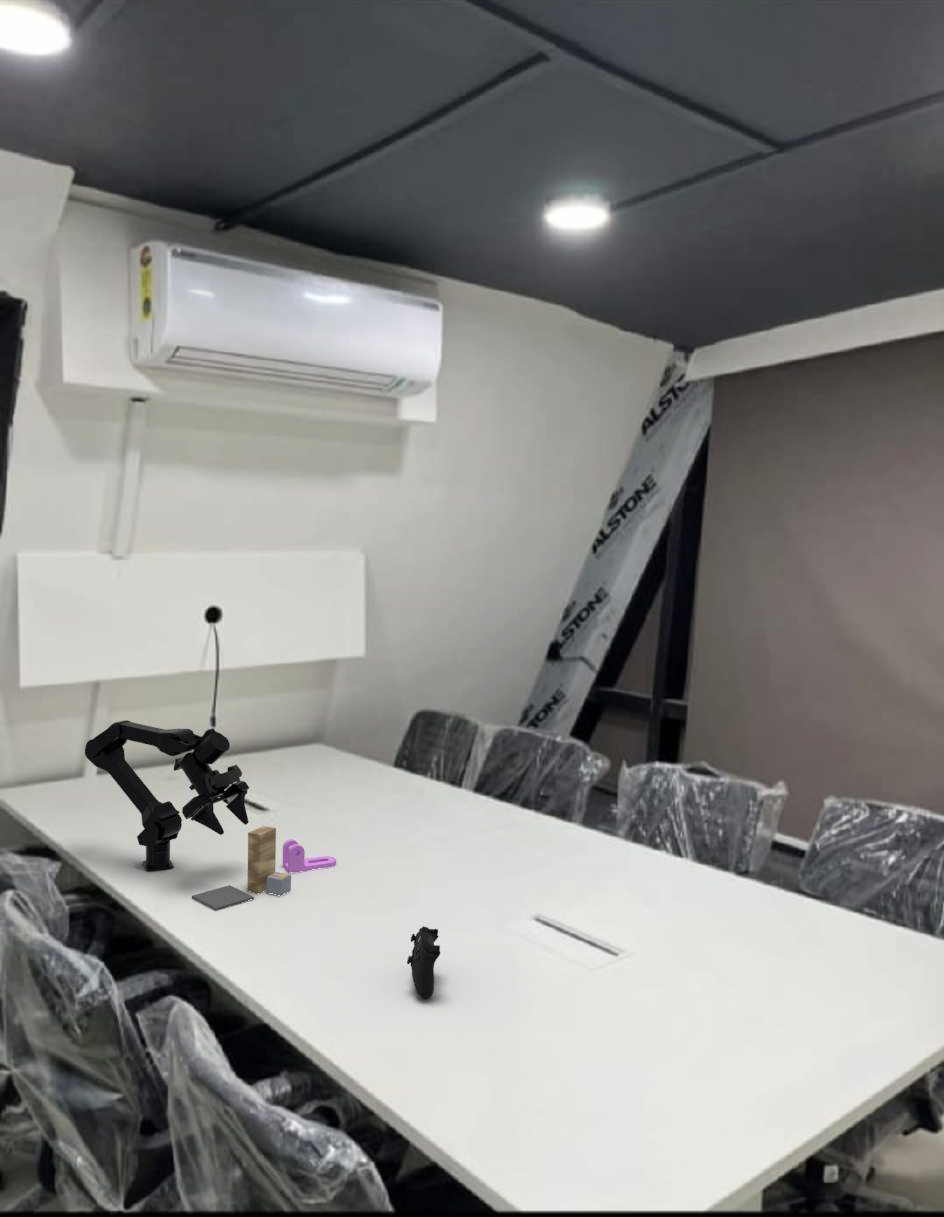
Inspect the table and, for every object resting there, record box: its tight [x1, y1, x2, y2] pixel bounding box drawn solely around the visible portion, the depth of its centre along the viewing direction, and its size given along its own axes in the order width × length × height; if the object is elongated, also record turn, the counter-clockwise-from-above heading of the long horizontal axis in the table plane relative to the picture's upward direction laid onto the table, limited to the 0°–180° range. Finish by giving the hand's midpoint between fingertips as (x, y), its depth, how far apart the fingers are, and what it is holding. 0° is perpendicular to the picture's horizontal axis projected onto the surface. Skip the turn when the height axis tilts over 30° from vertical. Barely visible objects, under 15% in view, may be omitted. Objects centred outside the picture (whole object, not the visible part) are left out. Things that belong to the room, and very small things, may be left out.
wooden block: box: [246, 825, 277, 894], centre depth 233 cm, size 4×6×14 cm, turn 155°
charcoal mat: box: [191, 884, 255, 911], centre depth 227 cm, size 10×10×1 cm
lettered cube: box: [265, 871, 292, 897], centre depth 232 cm, size 4×4×4 cm
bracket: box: [282, 838, 337, 874], centre depth 250 cm, size 13×6×7 cm, turn 119°
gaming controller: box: [406, 926, 441, 1000], centre depth 187 cm, size 14×6×10 cm, turn 5°
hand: (235, 828), depth 236 cm, fingers open, 9 cm apart
